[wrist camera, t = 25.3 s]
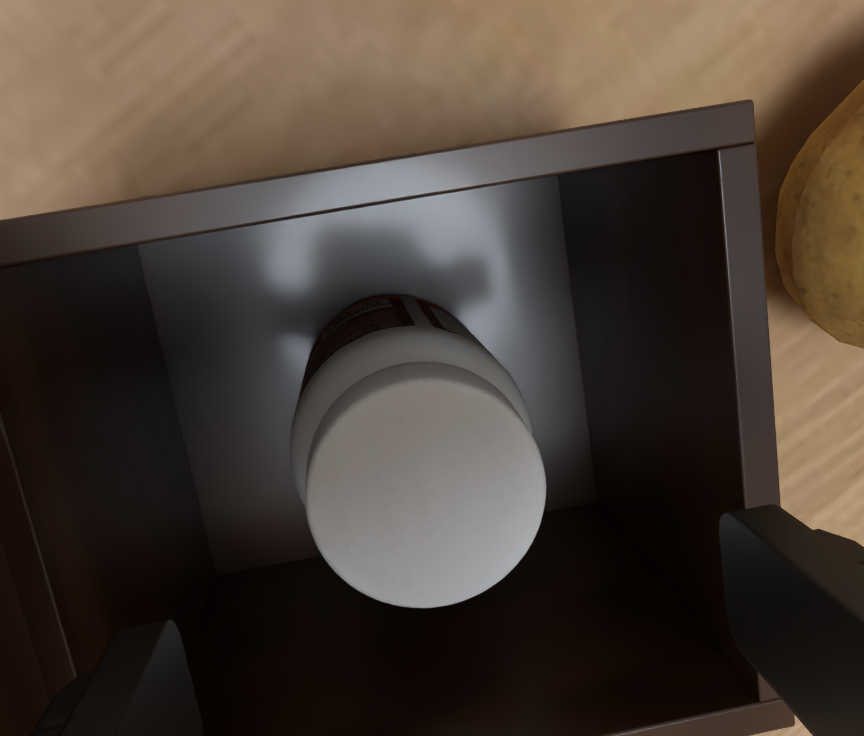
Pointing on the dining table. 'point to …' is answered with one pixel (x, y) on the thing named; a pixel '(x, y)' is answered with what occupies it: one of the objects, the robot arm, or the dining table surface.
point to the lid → (17, 664)
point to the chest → (278, 396)
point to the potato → (827, 223)
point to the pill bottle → (414, 455)
